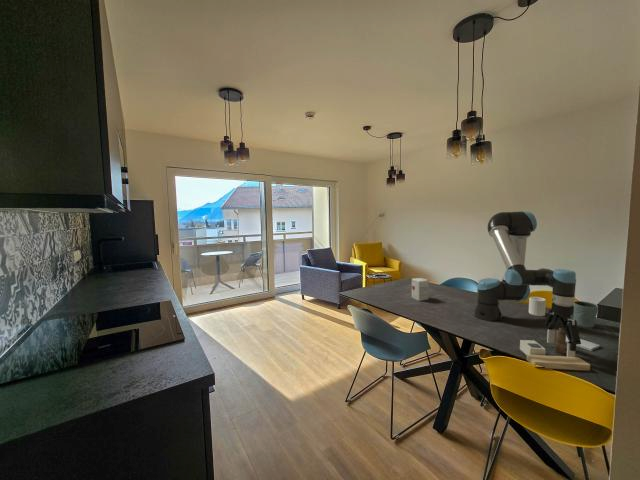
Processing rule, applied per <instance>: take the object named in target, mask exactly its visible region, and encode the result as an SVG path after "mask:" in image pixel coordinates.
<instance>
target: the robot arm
mask: <svg viewBox="0 0 640 480" xmlns="http://www.w3.org/2000/svg"><path fill="white" fill-rule="evenodd" d="M537 225H538V223H537V218H536V216H535V215H534V213H532V212H531V211H502V212H498V213H495V214H494V215H492V216H491V218H490V219H489V221H488V222H487V232H488V235H489V236H490V237H491V238H493V241H494V243H495V246H496V247H497V250H498V252H499V254H500V256H501V258H502V259H501V260H502V261H503V264H504V265H505V269H506V270H505V272H504V276H503V277H502V280H501V281H500V279H498V278H489V277H487V278H482V279H479V280H478V282H477V286H476V288H477V290H476V291H477V292H476V293H477V295H476V296H477V297H476V299H477V301H476V305H475V307H474V308H473V309H474V310H473V316H474V317H476V318H478V319H481V320H484V321H489V322H499V321H501V320H502V319H503V313H502V310H501V308H500V301H501V302H502V301H504V302H507V301H508V302H524V301H526V300H527V299H529V298H530V294H531V287H530V286H547V287H549V288H552V291H551V293H552V295H551V296H552V297H551V302H552V303H551V309H549V310H548V315H547V317H546V319H545V321H544V323H543V326H544V327H546V329H547V332H546V335H547V336H546V343H547V344H555V341H556V327H557V326H558V325H559V326H560V325H561V328H563V329H564V332H565V333H566V335H567V338H568V340H569V342H566V344H567V345H566V357H576V351H577V346H576V344H581V341H580V339H581V338H580V334H579V329H578V325H577V321H576V320H573V318H571V316H572V315H573V316H574V306H573V305H574V303H575V301H576V299H575V298H576V296H575V295H576V286H577V284H576V283H577V277H576V276H577V274H576V272H575V271H574V270H571V269H566V268H565V269H564V268H561V269H560V268H558V269H557V268H556V269H554V270H552V269H550V268H543V267H542V268H538V269H527V268H526V266H525V262H526V253H527V252H526V251H527V240H528V238H529V237H531V233H532V232H535V231H536V229H537Z"/></svg>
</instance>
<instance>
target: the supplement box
mask: <svg viewBox="0 0 640 480" xmlns="http://www.w3.org/2000/svg"><path fill="white" fill-rule="evenodd" d="M429 283H430V282H429V280H428V279H425V278H423V277H418V278H417V277H416V278H411V299H414V300H416V301H419V302H420V301H425V300H429V288H430V287H429Z"/></svg>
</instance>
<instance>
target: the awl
mask: <svg viewBox="0 0 640 480" xmlns="http://www.w3.org/2000/svg"><path fill="white" fill-rule="evenodd" d="M566 344H567V342H566V333H565V330H564V328H563V327H559V328H558V329H557V330H555V342H554V345H555V347H554V353H556V354H557V355H559V356H565V354H566Z"/></svg>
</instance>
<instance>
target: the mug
mask: <svg viewBox="0 0 640 480" xmlns="http://www.w3.org/2000/svg"><path fill="white" fill-rule="evenodd" d="M528 300H529V301H528V313H529V314H530V315H532V316H535V317H545V316H546V306H547V300H546V298H543V297H539V296H529V297H528Z"/></svg>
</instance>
